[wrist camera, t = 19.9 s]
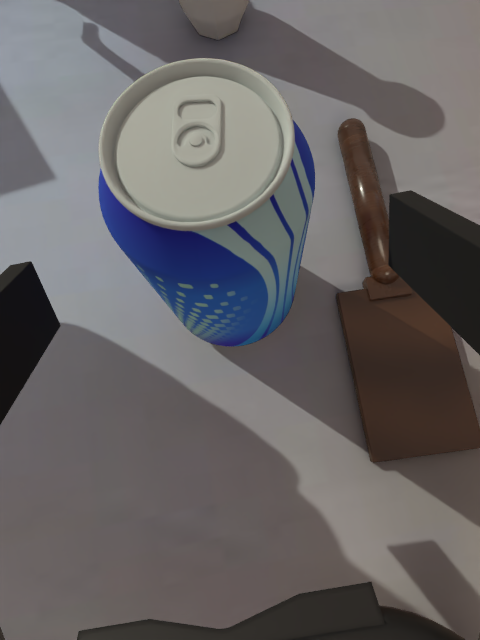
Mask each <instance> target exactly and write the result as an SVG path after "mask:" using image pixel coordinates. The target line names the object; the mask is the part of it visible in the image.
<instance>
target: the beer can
mask: <svg viewBox="0 0 480 640" xmlns="http://www.w3.org/2000/svg"><path fill="white" fill-rule="evenodd" d="M99 161H100V166H101V169H100V176H99V201H100V206H101V211H102V214H103V218H104V220H105V223H106V225H107V227H108V229H109V231H110V233H111V235H112V237H113V238H114V240H115V241H116V243H117V244H118V245H119V247H120V248H121V249H122V250H123V252H124V253H125V254H126V255H127V256H128V258H129V259H130V260H131V261H132V262H133V264H134V265H135V266H136V267H137V269H138V270H139V271H140V272H141V273H142V275H143V276H144V277H145V278H146V280H147V281H148V282H149V283H150V284H151V286H152V287H153V288H154V289H155V290H156V292H157V293H158V294H159V295H160V297H161V298H162V299H163V300H164V301H165V303H166V304H167V305H168V306H169V307H170V309H171V310H172V311H173V312H174V314H175V315H176V316H177V317H178V318H179V320H180V321H181V322H182V323H183V324H184V326H185V327H186V328H187V329H188V330H189V331H190V332H191V333H193V334H194V335H196V336H197V337H199V338H200V339H202V340H204V341H207V342H209V343H212V344H216V345H220V346H242V345H247V344H251V343H253V342H256V341H258V340H260V339H262V338H264V337H266V336H267V335H269V334H270V333H272V332H273V331H274V330H275V329H276V328H277V327H278V326H279V325H280V324H281V323H282V322H283V320H284V319H285V317H286V316H287V314H288V312H289V310H290V308H291V305H292V302H293V298H294V294H295V289H296V284H297V279H298V274H299V268H300V263H301V258H302V253H303V248H304V243H305V238H306V233H307V228H308V223H309V218H310V213H311V208H312V203H313V197H314V190H315V170H314V162H313V158H312V154H311V151H310V148H309V146H308V143H307V141H306V139H305V137H304V135H303V133H302V132H301V130H300V128H299V127H298V126H297V124H296V123H295V122H294V121H293V119H292V116H291V113H290V110H289V108H288V106H287V104H286V102H285V100H284V98H283V97H282V95H281V94H280V93H279V91H278V90H277V89H276V88H275V87H274V86H273V85H272V84H271V83H270V82H269V81H268V80H267V79H266V78H264V77H263V76H262V75H260V74H259V73H257V72H255V71H254V70H252V69H250V68H248V67H245V66H243V65H241V64H238V63H234V62H231V61H226V60H221V59H211V58H197V59H187V60H182V61H177V62H173V63H170V64H167V65H164V66H161V67H159V68H157V69H155V70H153V71H151V72H149V73H147V74H145V75H144V76H142V77H141V78H139V79H138V80H136V81H135V82H134V83H132V84H131V85H130V86H129V87H128V88H127V89H126V90H125V91H124V92H123V93H122V94H121V95H120V96H119V97H118V99H117V100H116V101H115V103H114V104H113V106H112V107H111V109H110V110H109V112H108V114H107V116H106V118H105V121H104V123H103V126H102V130H101V133H100V139H99Z"/></svg>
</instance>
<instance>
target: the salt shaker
mask: <svg viewBox="0 0 480 640" xmlns="http://www.w3.org/2000/svg"><path fill="white" fill-rule="evenodd" d="M179 2H180V5H181V8H182V9H183V11H184V12H185V14H186V16H187V17H188V19H189V20H190V22H191V23H192V24H193V26H194V27H195V29H196V30H197V32H198V33H199V35H202V36H206V37H209V38H213V39H217V40H220V39H222V38H224V37H226V36H228V35H230V34H232V33H234V32H236V31H238V28H239V24H240V21H241V18H242V16H243V14H244V11H245V9H246V7H247V5H248V3H249V0H179Z"/></svg>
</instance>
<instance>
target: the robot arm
mask: <svg viewBox="0 0 480 640" xmlns="http://www.w3.org/2000/svg"><path fill="white" fill-rule="evenodd" d="M388 265H389V266H390V267H391V268H392V269H393V270H394V271H395V272H396V273H397V274H398V275H399V276H400V277H401V278H402V279H403V280H404V281H405V282H406V283H407V284H408V285H409V286H410V287H411V288H412V289H413V290H414V291H415V292H416V293H417V294H418V295H419V296H420V297H421V298H422V299H423V300H424V301H425V302H426V303H427V304H428V305H429V306H430V307H431V308H432V309H433V310H434V311H435V312H436V313H437V314H438V315H439V316H440V317H442V318H443V319H444V320H445V321H446V322H447V323H448V324H449V325H450V326H451V327H452V328H453V329H454V330H455V331H456V332H457V333H458V334H459V335H460V336H461V337H462V338H463V339H464V340H465V341H466V342H467V343H468V344H469V345H470V346H471V347H472V348H473V349H474V350H475V351H476V352H477V353H478V354H479V355H480V225H478V224H476V223H474V222H472V221H470V220H468V219H466V218H464V217H462V216H460V215H458V214H456V213H454V212H452V211H450V210H448V209H446V208H444V207H442V206H440V205H438V204H437V203H435V202H433V201H431V200H429V199H427V198H425V197H423V196H421V195H419V194H417V193H415V192H413V191H406V192H400V193H395V194H390V203H389V258H388ZM59 327H60V323H59V321H58V319H57V317H56V315H55V312H54V310H53V308H52V306H51V304H50V301H49V299H48V297H47V295H46V293H45V290H44V288H43V286H42V284H41V282H40V279H39V277H38V275H37V273H36V271H35V268H34V266H33V264H32V262H25V263H20V264H15V265H10V266H9V267H8V268H7V269H6V270H5V271H4V272H3V273H2V274H1V275H0V424H1V423H2V421H3V420H4V418H5V416H6V415H7V413H8V411H9V410H10V408H11V406H12V405H13V403H14V401H15V400H16V398H17V396H18V395H19V393H20V391H21V390H22V388H23V387H24V385H25V383H26V382H27V380H28V378H29V377H30V375H31V373H32V372H33V370H34V368H35V367H36V365H37V363H38V362H39V360H40V358H41V357H42V355H43V353H44V352H45V350H46V349H47V347H48V345H49V344H50V342H51V340H52V339H53V337H54V335H55V334H56V332H57V330H58V329H59ZM0 640H5V638H4V635H3V633H2V630H1V628H0ZM77 640H465V639H464V638H462V637H461V636H459V635H458V634H456V633H455V632H453V631H451V630H449V629H448V628H446V627H444V626H442V625H440V624H438V623H436V622H434V621H432V620H430V619H427V618H425V617H422V616H420V615H417V614H415V613H412V612H409V611H405V610H401V609H397V608H394V607H387V606H380V605H379V604H378V601H377V598H376V595H375V592H374V589H373V586H372V583H371V582H367V583H361V584H355V585H349V586H343V587H338V588H332V589H326V590H320V591H314V592H308V593H302V594H298V595H296V596H294V597H292V598H290V599H288V600H285V601H283V602H281V603H279V604H277V605H275V606H273V607H271V608H269V609H267V610H265V611H263V612H261V613H259V614H257V615H255V616H253V617H251V618H248V619H246V620H244V621H242V622H240V623H238V624H236V625H234V626H232V627H229V628H226V629H214V628H207V627H201V626H194V625H187V624H180V623H173V622H166V621H159V620H152V619H147V620H141V621H135V622H129V623H123V624H118V625H112V626H106V627H100V628H94V629H88V630H82V631H79V632H78V637H77ZM478 640H480V633H479V638H478Z"/></svg>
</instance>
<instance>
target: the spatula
mask: <svg viewBox="0 0 480 640" xmlns="http://www.w3.org/2000/svg"><path fill="white" fill-rule="evenodd" d="M338 140H339V144H340V148H341V153H342V157H343V161H344V165H345V170H346V174H347V178H348V182H349V187H350V191H351V195H352V199H353V204H354V208H355V212H356V216H357V221H358V225H359V229H360V233H361V237H362V242H363V246H364V250H365V254H366V259H367V263H368V267H369V271H370V275H371V277H366V278H365V279H364V281H363V287H364V289H362V290H356V291H349V292H342V293H338V294H337V295H336V299H337V304H338V309H339V314H340V318H341V323H342V328H343V333H344V337H345V342H346V347H347V352H348V357H349V361H350V366H351V371H352V376H353V380H354V385H355V390H356V395H357V400H358V404H359V409H360V414H361V419H362V423H363V428H364V433H365V438H366V443H367V447H368V452H369V457H370V461H371V462H382V461H389V460H396V459H403V458H410V457H418V456H425V455H432V454H439V453H446V452H454V451H461V450H468V449H475V448H480V428H479V424H478V421H477V417H476V414H475V410H474V406H473V403H472V399H471V396H470V392H469V389H468V385H467V382H466V378H465V374H464V371H463V367H462V364H461V360H460V357H459V353H458V350H457V346H456V342H455V339H454V335H453V332H452V328H451V326H450V325H449V324H448V323H447V322H446V321H445V320H444V319H443V318H442V317H440V316H439V315H438V314H437V313H436V312H435V311H434V310H433V309H432V308H431V307H430V306H429V305H428V304H427V303H426V302H425V301H424V300H423V299H422V298H421V297H420V296H419V295H418V294H417V293H416V292H415V291H414V290H413V289H412V288H411V287H410V286H409V285H408V284H407V283H406V282H405V281H404V280H403V279H402V278H401V277H400V276H399V275H398V274H397V273H396V272H395V271H394V270H393V269H392V268H391V267H390V266H389V265H388V258H389V219H388V215H387V211H386V207H385V203H384V199H383V195H382V191H381V188H380V184H379V180H378V176H377V172H376V168H375V164H374V160H373V157H372V153H371V149H370V145H369V141H368V137H367V133H366V129H365V126H364V124H363V123H362V122H361V121H360V120H358V119H355V118H352V119H348V120H346V121H344V122H343V123H342V124H341V126H340V127H339V130H338Z"/></svg>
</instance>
